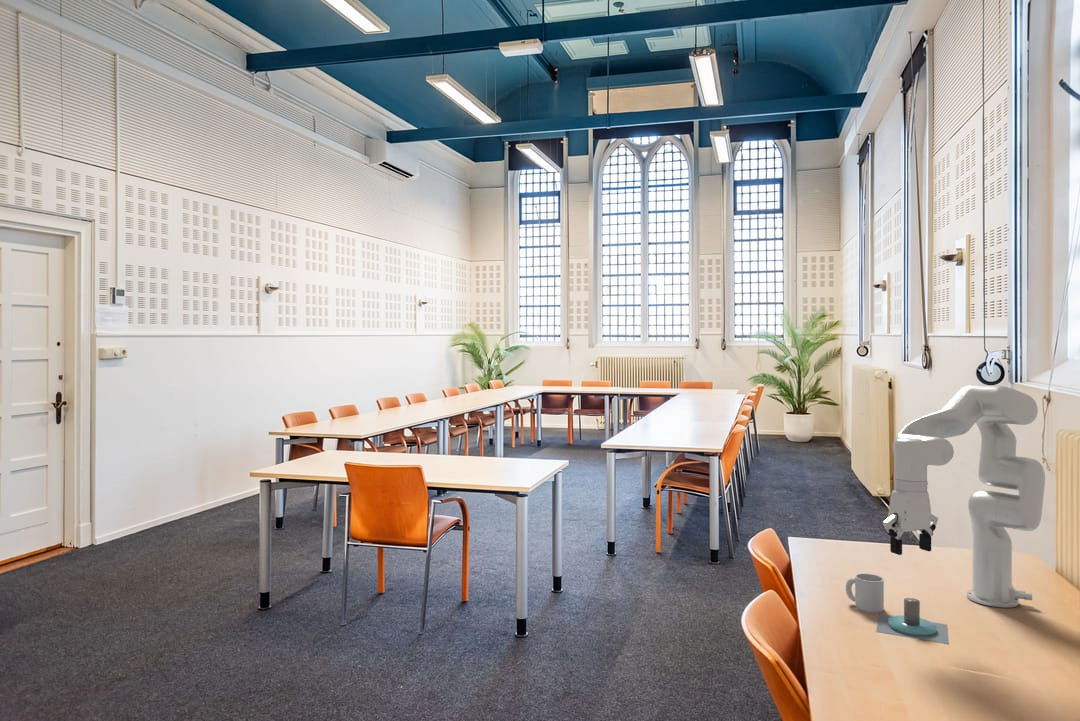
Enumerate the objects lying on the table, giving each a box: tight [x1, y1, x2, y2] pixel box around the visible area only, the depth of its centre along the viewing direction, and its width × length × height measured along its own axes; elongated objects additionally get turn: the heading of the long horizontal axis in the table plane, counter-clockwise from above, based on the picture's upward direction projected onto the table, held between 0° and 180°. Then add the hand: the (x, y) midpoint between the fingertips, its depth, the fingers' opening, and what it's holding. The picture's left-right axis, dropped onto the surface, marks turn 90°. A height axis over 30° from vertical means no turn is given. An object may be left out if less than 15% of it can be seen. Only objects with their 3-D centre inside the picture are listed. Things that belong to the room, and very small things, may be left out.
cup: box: [845, 573, 885, 614], centre depth 192 cm, size 7×10×9 cm
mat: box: [875, 613, 950, 645], centre depth 177 cm, size 16×14×1 cm
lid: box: [888, 597, 936, 637], centre depth 177 cm, size 11×11×7 cm
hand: (910, 551), depth 177 cm, fingers open, 9 cm apart
